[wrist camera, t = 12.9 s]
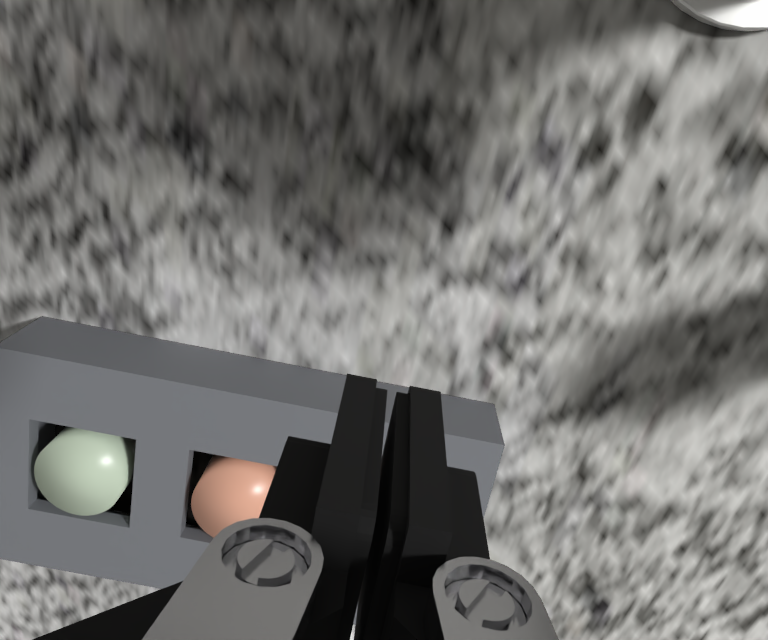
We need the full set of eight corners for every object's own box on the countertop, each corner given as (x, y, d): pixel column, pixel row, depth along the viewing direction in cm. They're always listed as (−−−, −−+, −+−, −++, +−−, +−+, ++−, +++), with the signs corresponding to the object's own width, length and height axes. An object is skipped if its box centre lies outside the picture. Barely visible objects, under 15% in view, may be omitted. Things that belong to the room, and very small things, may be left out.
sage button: (148, 419, 40) (124, 448, 37) (142, 488, 42) (119, 522, 39) (65, 403, 40) (34, 431, 37) (63, 473, 42) (33, 506, 39)
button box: (494, 404, 41) (504, 445, 36) (444, 584, 46) (447, 641, 41) (42, 316, 40) (-7, 346, 36) (38, 508, 45) (-7, 557, 40)
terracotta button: (294, 446, 41) (284, 479, 37) (283, 515, 42) (271, 551, 39) (213, 431, 41) (195, 462, 37) (205, 500, 42) (187, 535, 39)
